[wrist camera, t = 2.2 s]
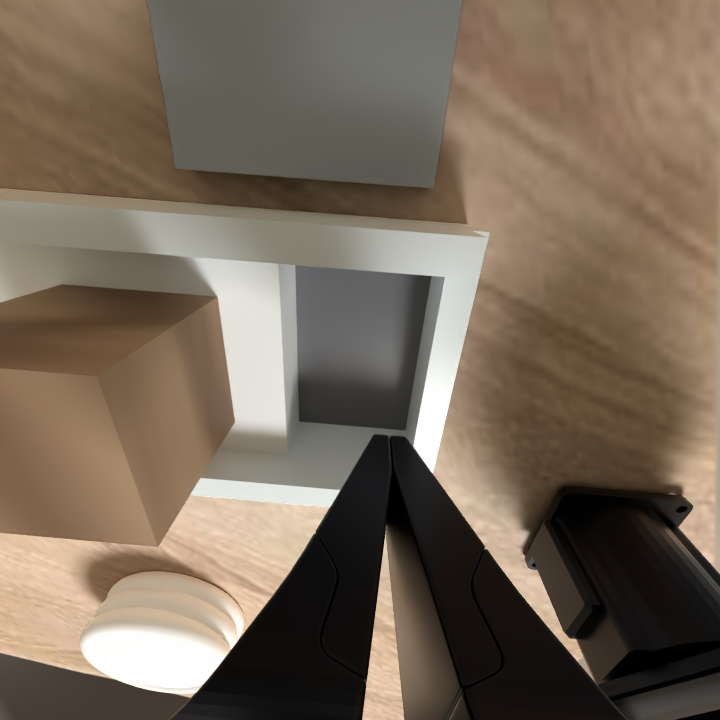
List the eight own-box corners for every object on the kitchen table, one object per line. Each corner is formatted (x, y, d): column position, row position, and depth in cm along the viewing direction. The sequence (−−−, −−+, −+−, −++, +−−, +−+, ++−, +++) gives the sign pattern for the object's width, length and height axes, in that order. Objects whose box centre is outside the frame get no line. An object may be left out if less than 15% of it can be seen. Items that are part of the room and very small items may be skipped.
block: (217, 296, 10) (96, 376, 6) (235, 422, 13) (157, 546, 8) (62, 284, 10) (-174, 353, 6) (107, 411, 13) (-38, 529, 8)
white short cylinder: (93, 561, 23) (48, 621, 19) (235, 571, 22) (212, 633, 19) (136, 633, 27) (105, 691, 24) (254, 642, 27) (238, 701, 24)
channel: (467, 224, 11) (509, 239, 8) (422, 444, 16) (435, 517, 12) (-167, 175, 12) (-407, 168, 8) (-29, 405, 16) (-143, 466, 13)
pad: (490, -224, 7) (506, -283, 6) (429, 188, 11) (433, 188, 10) (129, -246, 7) (94, -306, 6) (191, 170, 11) (175, 168, 10)
